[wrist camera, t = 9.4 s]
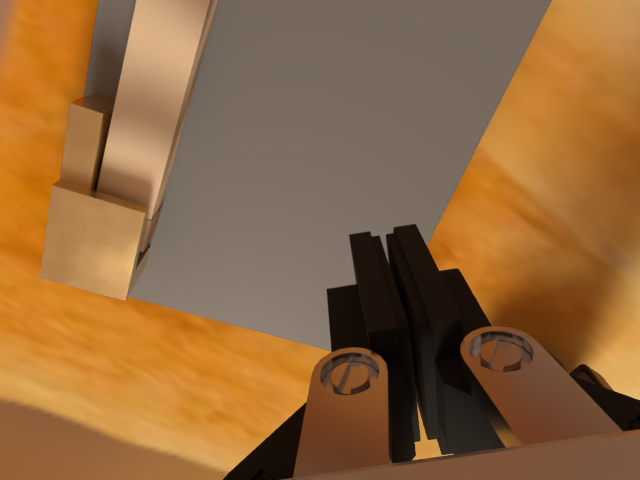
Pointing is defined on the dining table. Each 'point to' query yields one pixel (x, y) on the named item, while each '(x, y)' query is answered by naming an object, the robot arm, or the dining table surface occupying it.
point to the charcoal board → (314, 143)
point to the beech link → (153, 101)
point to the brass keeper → (91, 213)
